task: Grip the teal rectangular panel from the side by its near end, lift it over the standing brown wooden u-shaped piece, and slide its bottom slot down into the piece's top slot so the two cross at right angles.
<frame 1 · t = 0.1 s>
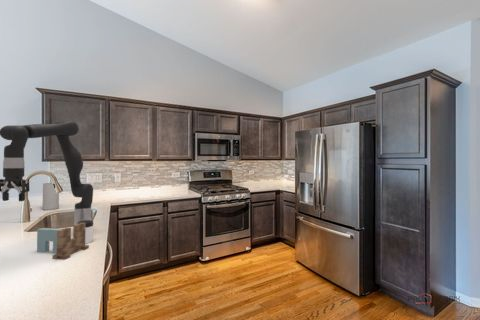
hand: (13, 200, 116), 29 cm above the countertop, tool pointing down, fingers open, 8 cm apart
teal rectangular panel: (50, 251, 129), on the countertop
brown wooden u-shaped piece: (71, 252, 127), on the countertop
cylinder vase: (50, 209, 235), on the countertop
jar: (85, 242, 145), on the countertop
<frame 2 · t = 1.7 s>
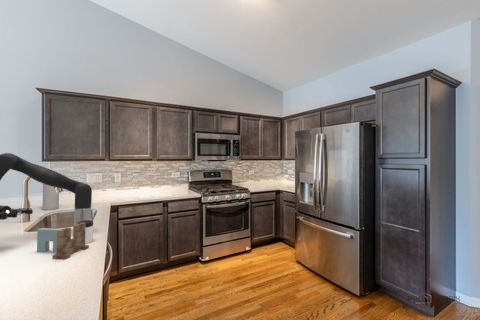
hand: (24, 213, 130), 20 cm above the countertop, tool horizontal, fingers open, 8 cm apart
nothing on the countertop moved.
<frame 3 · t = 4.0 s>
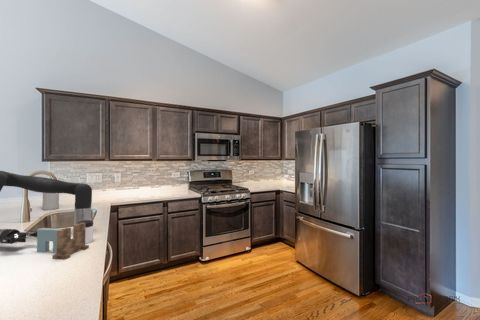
hand: (33, 237, 130), 7 cm above the countertop, tool horizontal, fingers open, 8 cm apart
nothing on the countertop moved.
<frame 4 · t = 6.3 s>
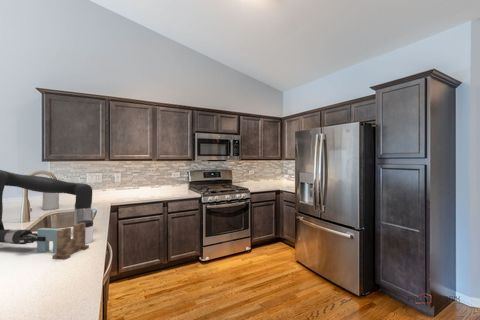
hand: (47, 238, 129), 7 cm above the countertop, tool horizontal, fingers closed on teal rectangular panel, 2 cm apart
teal rectangular panel: (50, 251, 129), on the countertop, touching gripper
everything else where it was.
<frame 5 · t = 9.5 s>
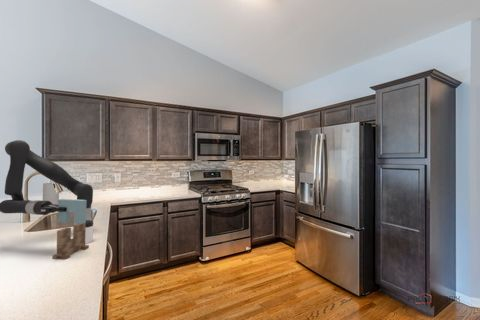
hand: (68, 209, 128), 23 cm above the countertop, tool horizontal, fingers closed on teal rectangular panel, 2 cm apart
teal rectangular panel: (71, 222, 127), point 16 cm above the countertop, touching gripper
everything else where it was.
when the fingers open (8 cm above the countertop, at t = 13.0 s): teal rectangular panel stays where it is, resting on brown wooden u-shaped piece.
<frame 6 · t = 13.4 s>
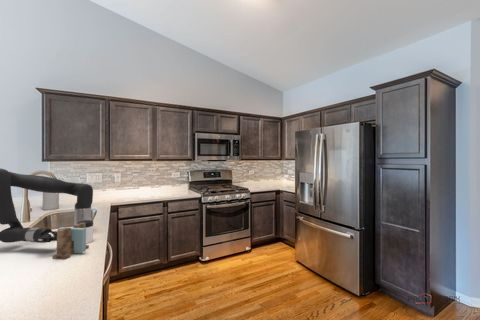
hand: (67, 236, 128), 9 cm above the countertop, tool horizontal, fingers open, 6 cm apart
teal rectangular panel: (71, 251, 127), point 1 cm above the countertop, touching brown wooden u-shaped piece
everything else where it was.
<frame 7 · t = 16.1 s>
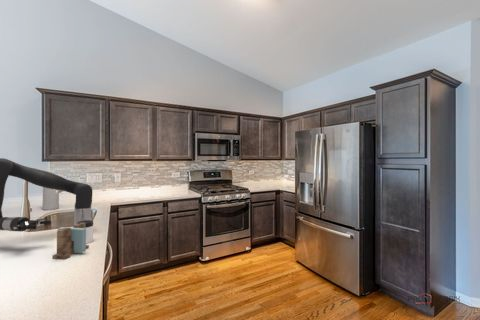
hand: (43, 224, 129), 14 cm above the countertop, tool horizontal, fingers open, 8 cm apart
nothing on the countertop moved.
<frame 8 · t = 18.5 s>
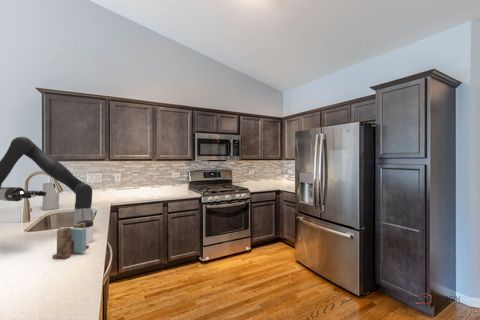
hand: (38, 195, 130), 30 cm above the countertop, tool horizontal, fingers open, 8 cm apart
nothing on the countertop moved.
at the end: teal rectangular panel 0.1 cm off-centre on the brown wooden u-shaped piece, point 1.0 cm above the brown wooden u-shaped piece's base; teal rectangular panel tilted 0°; the gripper is holding nothing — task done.
